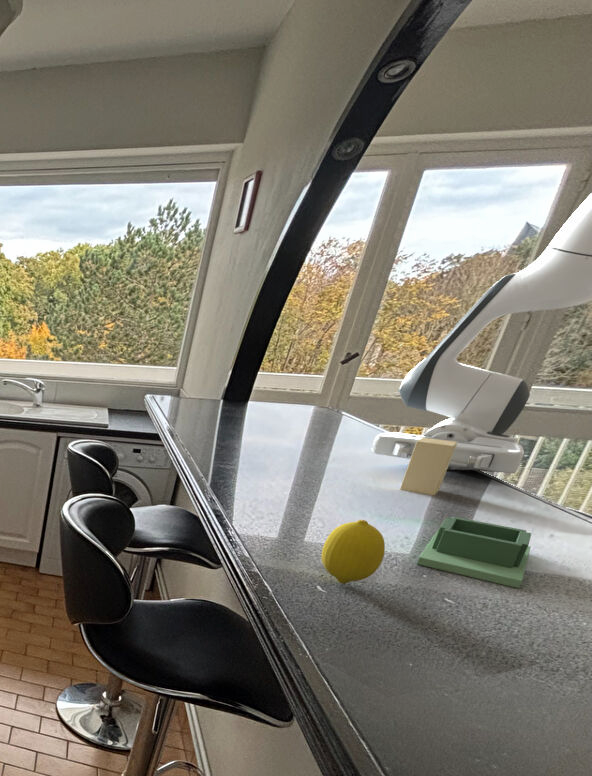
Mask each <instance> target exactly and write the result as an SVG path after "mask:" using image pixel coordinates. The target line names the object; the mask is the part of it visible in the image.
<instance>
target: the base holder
mask: <svg viewBox="0 0 592 776" xmlns="http://www.w3.org/2000/svg"><path fill="white" fill-rule="evenodd" d="M531 536H532V532H527V530H526V529H521V528H516V527H511V526H506V525H500V524H494V523H491V522H484V521H479V520H473V519H468V518H463V517H459V516H458V517H457V516H452V517H449V516H448V517H447V516H446V518H445V519H444V521H443V522H442V523H441V525H440V527H438V529H437V530H436V531H435V532H434V534H433V536H432V537H431V539H430V540H429V542H428V544H427V545H426V546H425V548H424V549H423V551H422V552H421V553H420V555H419V557H418V559H417V561H416V565H419V566H424V567H428V568H431V569H436V570H439V571H444V572H449V573H452V574H457V575H462V576H465V577H470V578H474V579H478V580H481V581H482V580H483V581H486V582H491V583H493V584H499V585H502V586H507V587H511V588H515V589H520V587H521V585H522V583H523V580H524V576H525V573H526V572H525V571H526V568H527V564H528V559H529V554H530V550H531V546H529V544H530V540H531Z"/></svg>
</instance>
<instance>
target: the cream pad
mask: <svg viewBox="0 0 592 776" xmlns="http://www.w3.org/2000/svg"><path fill="white" fill-rule="evenodd" d="M456 444H457V442H454V441H446V440H438V439H430V438H421V439H419V440H418V441H417V442H416V445H415V448H414V451H413V454H412V456H411V459H409V462H408V465H407V467H406V471H405V473H404V477H403V479H402V482H401V484H400V488H399V491H400V490H401V491H406V492H411V493H418V494H423V495H430V496H436V495H437V494H438V493H439V491H440V489H441V487H442V485H443V481H444V479H445V476H446V473H447V472H448V471H447V468H448V465H449V463H450V460H451V458H452V455H453V452H454V450H455V447H456Z"/></svg>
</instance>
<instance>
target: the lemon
mask: <svg viewBox="0 0 592 776" xmlns="http://www.w3.org/2000/svg"><path fill="white" fill-rule="evenodd" d="M385 543H386V542H385V539H384V535H382V532H380V530H379V529H378V528H376V527H375V526H374V525H372V524H370V523H368V521H367V520H366V519H358V520H357V521H350V522H345V523H343V524H340V525H338V526H337V527H335V528H334V529H333V530H332V531H331V532H330V533H329V535H328V536H327V538H326V540H325V541H324V544H323V546H322V550H321V563H322V565H323V567H324V569H325V570H326V572H327V573H328V574H330V575H331V576H332V577H334V578H335V579H336V581H337V582H338V583H339V582H340V583H339V584H342V583H343V584H342V585H345V584H348V583H350V582H358V581H362V580H365V579H367V578H369V577H371V576H372V575H374V573H376V571H377V570H378V569H379V567H381V564H382V562H383V560H384V557H385V550H386V549H385V548H386V545H385Z"/></svg>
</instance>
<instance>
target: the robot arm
mask: <svg viewBox="0 0 592 776" xmlns="http://www.w3.org/2000/svg"><path fill="white" fill-rule="evenodd" d="M589 302H592V192H591V193H590V194H589V195H588V196H587V197H586V199H584V201H583V202H582V203H581V204H580V205H579V206H578V208H576V210H575V211H574V212H573V213H572V214H571V215H570V217H569V218H568V219H567V220H566V221H565V222H564V224H563V225H562V227H561V228H560V229H559V231H558V232H557V233H556V234H555V235H554V237H553V238H552V240H551V241H550V243H549V244H548V246H547V247H546V248H545V250H544V251H543V252H542V253H541V255H539V257H537V259H536V260H534V261H533V262H532V263H531V264H529V265H528V266H527V267H525V268H524V269H522V270H519V272H515V273H510V274H506V275H504V276H502V277H501V278H500V279H499V280H497V281H496V282H495V283H494V284H493V285H492V286H490V288H488V290H487V291H486V292H485V293H484V294H483V295H482V296H481V297H480V298H479V299H478V300H477V301H476V302H475V303H474V305H473V306H472V307H470V309H469V310H468V311H467V312H466V313H465V314H464V315H463V316H462V317H461V318H460V319H459V320H458V322H456V325H454V326H453V328H451V330H450V331H449V332H448V333H447V334H446V335H445V336H444V337H443V339H442V340H441V341H440V342H439V343H438V344H437V345H436V346H435V348H433V349H432V351H431V352H429V354H428V355H427V356H426V357H425V358H424V359H423V360H422V361H420V362H418V364H417V365H415V366H414V367H413V368H412V369H411V370H410V371H409V372H408V373H407V374H406V375H405V377H404V379H403V380H402V381H401V384H400V385H399V386H400V387H399V389H398V393H399V394H398V395H399V396H400V398H401V400H402V402H403V403H404V405H405V406H406V408H410V409H411V408H412V409H416V410H420V411H424V412H430V413H431V412H432V413H435V414H438V415H441V416H444V417H448V419H445V420H442V421H440V422H439V423H437V424H435V425H433V427H431V428H430V429H428V430H427V431H425V433H423V434H422V435H419V434H411V433H403V432H383V433H379V434H377V435H376V436H375V438H374V439H373V443H372V445H371V449H370V452H371V453H372V454H375V455H379V456H380V455H381V456H386V457H394V458H400V459H406V460H410V459H411V456H412V454H413V451H414V448H415V445H416V442H417V441H418V440H419V439H421V438H430V439H438V440H446V441H454V442H457V444H456V447H455V450H454V452H453V455H452V458H451V460H450V463H449V465H448V468H447V470H448V471H449V470H450V471H481V472H489V473H504V474H516V473H517V471H518V469H519V467H520V465H521V463H522V460H523V458H524V455H525V450H524V447H523V446H522V445H521V444H519V443H518V440H519V439H518V437H515V436H513V435H512V436H510V435H509V434H508V435H507V434H505V433H506V432H507V431H508V430H509V429H510V427H511V426H513V424H514V423H515V421H516V420H517V419H518V417H519V416H520V414H521V413H522V411H523V410H524V408H525V407H526V405H527V403H528V401H529V399H530V397H531V394H530V388H529V385H528V383H527V381H526V380H525V379H523V378H519V377H516V376H514V375H513V376H512V375H510V374H509V375H508V374H505V373H501V372H497V371H491V370H488V369H483V368H480V367H475V366H472V365H468V364H464V363H461V362H459V361H458V360H457V358H458V357H459V356H460V355H461V354H462V352H463V351H464V350H465V349H466V348H468V346H469V345H470V344H471V343H472V342H473V341H474V340H475V339H476V338H477V336H478V335H479V334H480V333H481V332H482V331H483V330H484V329H485V328H486V327H487V326H488V325H489V324H490V323H492V322H493V321H494V320H497V319H498V318H501V317H505V316H507V315H513V314H517V313H525V312H538V311H551V310H560V309H567V308H571V307H575V306H580V305H583V304H586V303H589Z"/></svg>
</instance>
